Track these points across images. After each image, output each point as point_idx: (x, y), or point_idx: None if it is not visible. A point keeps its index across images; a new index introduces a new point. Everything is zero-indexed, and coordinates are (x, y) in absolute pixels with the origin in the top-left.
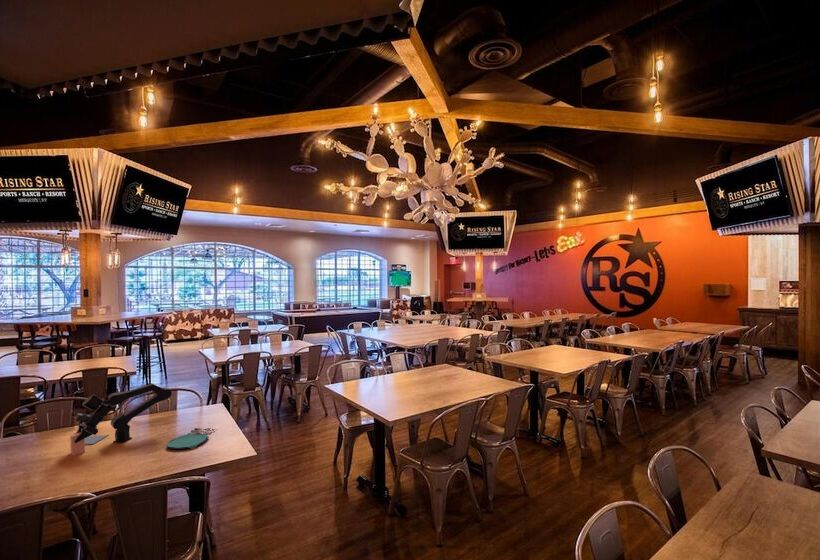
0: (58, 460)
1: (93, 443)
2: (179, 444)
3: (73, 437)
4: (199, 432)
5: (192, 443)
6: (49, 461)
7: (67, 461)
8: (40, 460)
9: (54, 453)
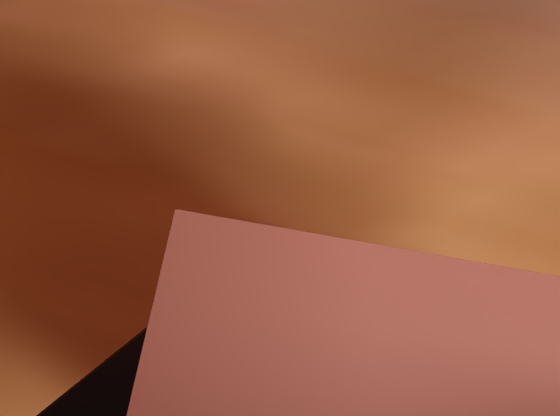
0: (218, 127)
1: None
2: None
3: (170, 275)
4: None
5: None
6: (304, 55)
7: (24, 178)
8: (464, 14)
9: None
